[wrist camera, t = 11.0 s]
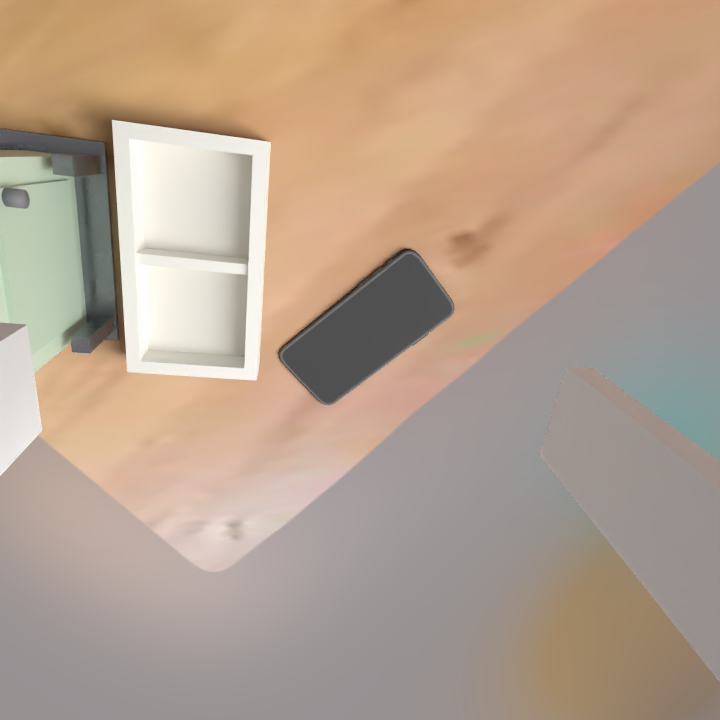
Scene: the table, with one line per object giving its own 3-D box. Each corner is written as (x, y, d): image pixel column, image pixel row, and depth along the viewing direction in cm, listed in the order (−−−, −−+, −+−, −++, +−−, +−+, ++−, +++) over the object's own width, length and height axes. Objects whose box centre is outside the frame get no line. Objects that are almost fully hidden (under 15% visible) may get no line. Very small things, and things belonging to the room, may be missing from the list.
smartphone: (272, 354, 42) (411, 244, 39) (273, 350, 43) (409, 242, 40) (327, 411, 45) (460, 311, 42) (326, 406, 45) (457, 307, 43)
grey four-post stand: (-3, 128, 33) (-54, 124, 29) (105, 142, 34) (74, 140, 30) (26, 332, 39) (-12, 357, 34) (118, 339, 40) (93, 364, 35)
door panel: (103, 330, 39) (27, 398, 28) (47, 325, 39) (-53, 393, 28) (90, 158, 35) (-8, 161, 24) (26, 150, 34) (-106, 148, 23)
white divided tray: (127, 122, 34) (111, 119, 31) (270, 142, 36) (268, 141, 33) (138, 357, 41) (127, 372, 38) (259, 365, 42) (256, 380, 40)
